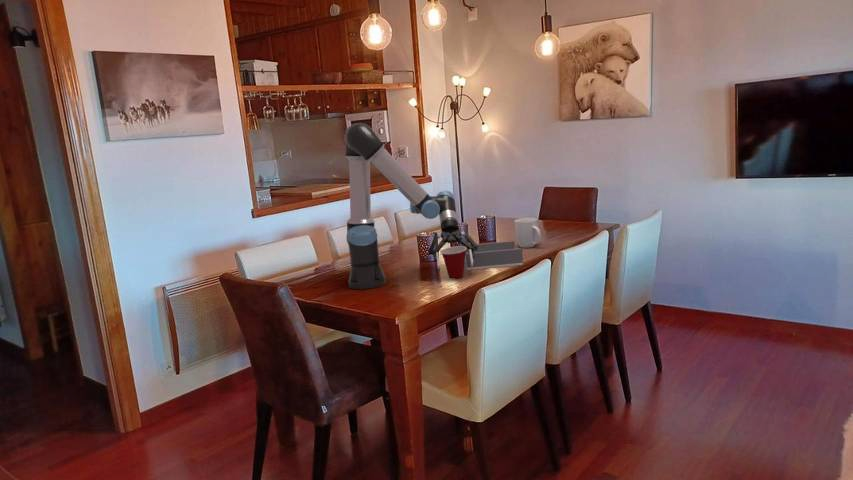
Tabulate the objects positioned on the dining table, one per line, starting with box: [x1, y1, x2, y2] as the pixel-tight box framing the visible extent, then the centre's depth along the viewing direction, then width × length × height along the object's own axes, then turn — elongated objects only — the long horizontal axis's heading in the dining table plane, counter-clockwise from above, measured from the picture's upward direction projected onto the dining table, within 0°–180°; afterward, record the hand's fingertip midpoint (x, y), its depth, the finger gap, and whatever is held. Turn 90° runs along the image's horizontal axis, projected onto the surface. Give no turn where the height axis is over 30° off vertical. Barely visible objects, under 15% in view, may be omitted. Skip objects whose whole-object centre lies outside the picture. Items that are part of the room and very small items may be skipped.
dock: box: [461, 240, 524, 271], centre depth 258 cm, size 24×18×7 cm
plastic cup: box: [439, 245, 467, 280], centre depth 238 cm, size 11×11×12 cm
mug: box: [514, 217, 542, 249], centre depth 282 cm, size 15×11×13 cm
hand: (455, 266), depth 236 cm, fingers open, 13 cm apart
